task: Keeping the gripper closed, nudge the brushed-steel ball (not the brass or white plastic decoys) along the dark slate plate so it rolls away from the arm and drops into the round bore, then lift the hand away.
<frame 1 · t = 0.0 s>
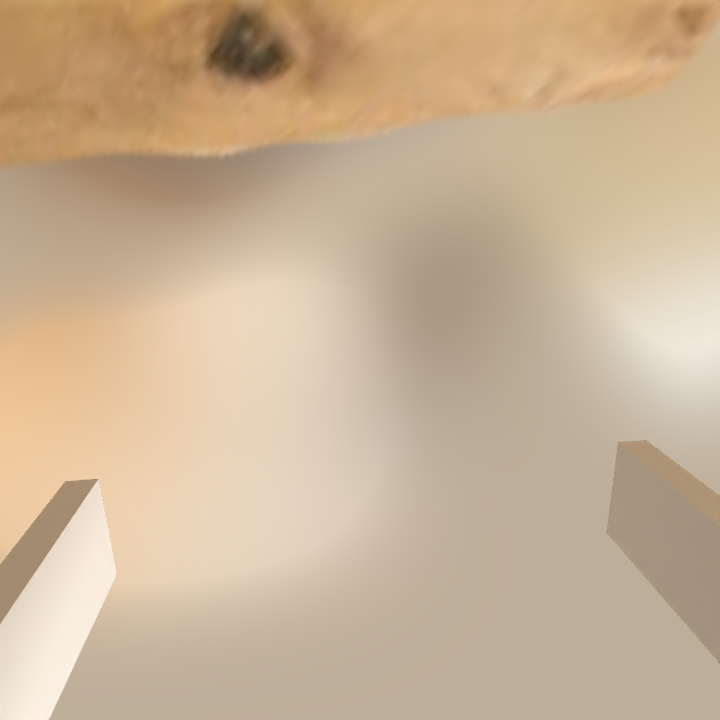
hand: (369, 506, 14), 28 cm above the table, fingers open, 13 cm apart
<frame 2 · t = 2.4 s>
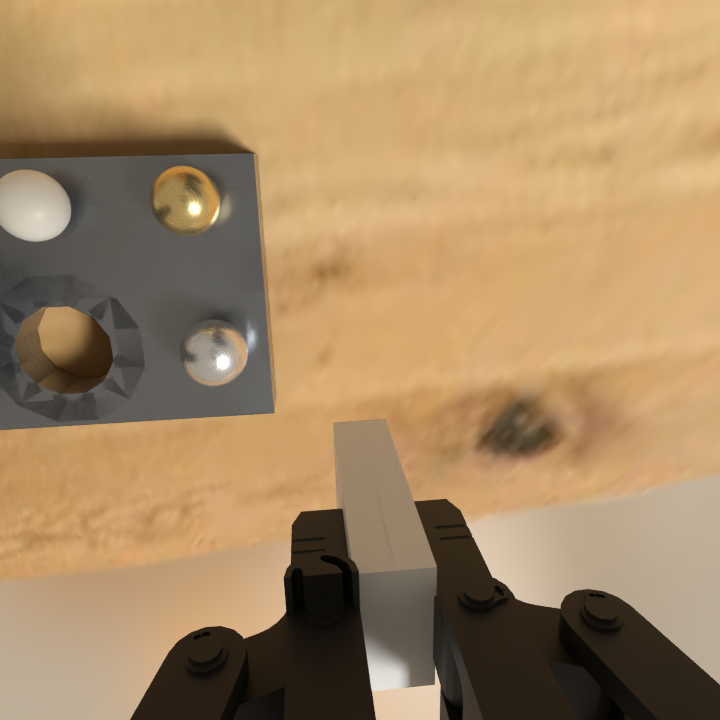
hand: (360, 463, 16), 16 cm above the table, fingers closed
brass ball: (185, 201, 25), point 4 cm above the table, touching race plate
steel ball: (213, 352, 27), point 4 cm above the table, touching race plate
white plastic ball: (32, 206, 24), point 4 cm above the table, touching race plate
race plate: (133, 289, 30), on the table
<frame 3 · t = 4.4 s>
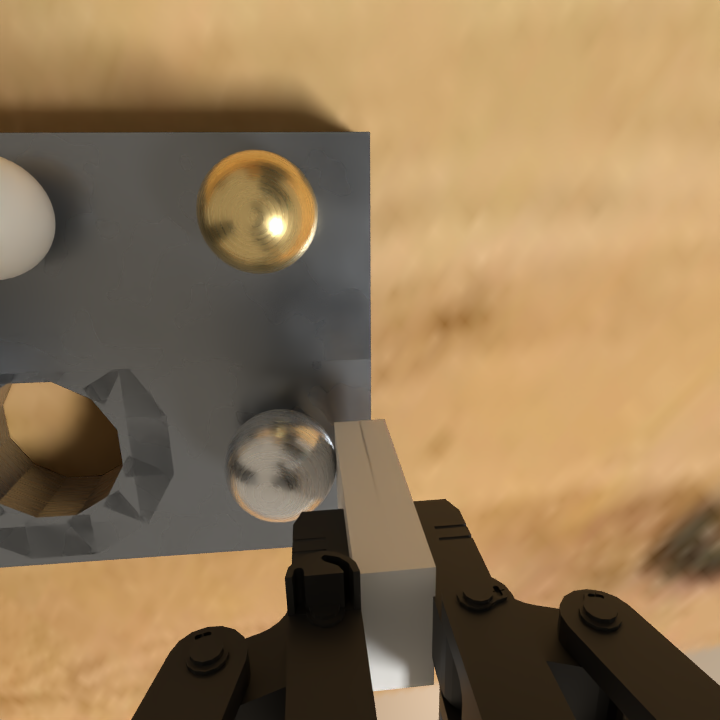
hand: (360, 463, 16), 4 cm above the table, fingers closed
brass ball: (258, 213, 14), point 4 cm above the table, touching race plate
steel ball: (280, 464, 16), point 4 cm above the table, tilted 9°, touching gripper, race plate
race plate: (155, 346, 19), on the table
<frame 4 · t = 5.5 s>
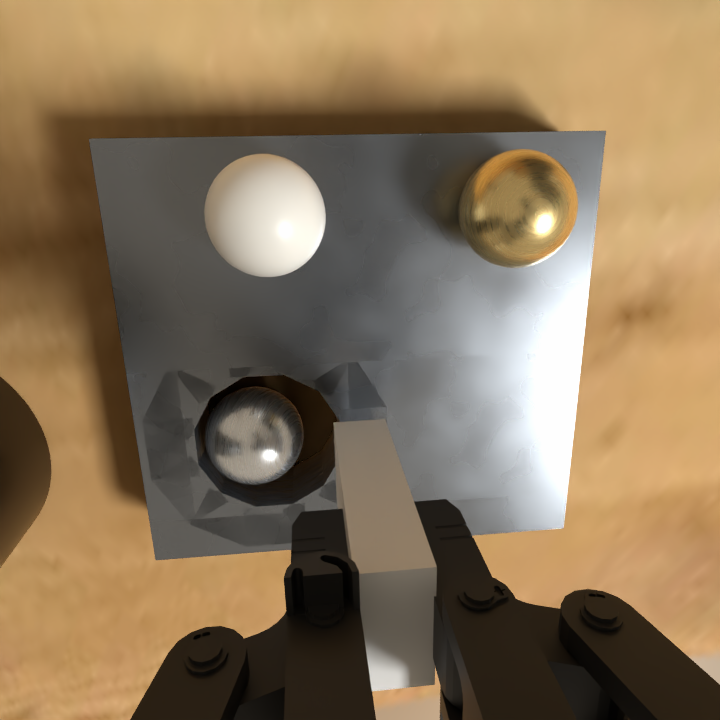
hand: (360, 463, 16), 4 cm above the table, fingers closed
brass ball: (516, 210, 15), point 4 cm above the table, touching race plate
steel ball: (255, 435, 19), point 2 cm above the table, tilted 63°
white plastic ball: (266, 217, 14), point 4 cm above the table, touching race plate
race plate: (355, 340, 20), on the table
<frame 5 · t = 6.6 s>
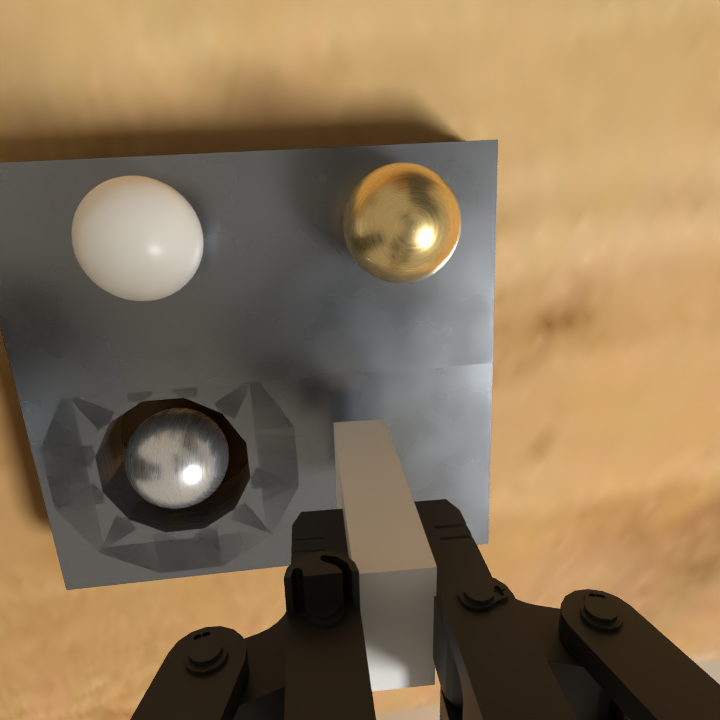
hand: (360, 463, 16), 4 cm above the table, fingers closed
brass ball: (401, 224, 14), point 4 cm above the table, touching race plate
steel ball: (178, 457, 18), point 2 cm above the table, tilted 79°
white plastic ball: (140, 239, 14), point 4 cm above the table, touching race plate
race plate: (268, 358, 19), on the table
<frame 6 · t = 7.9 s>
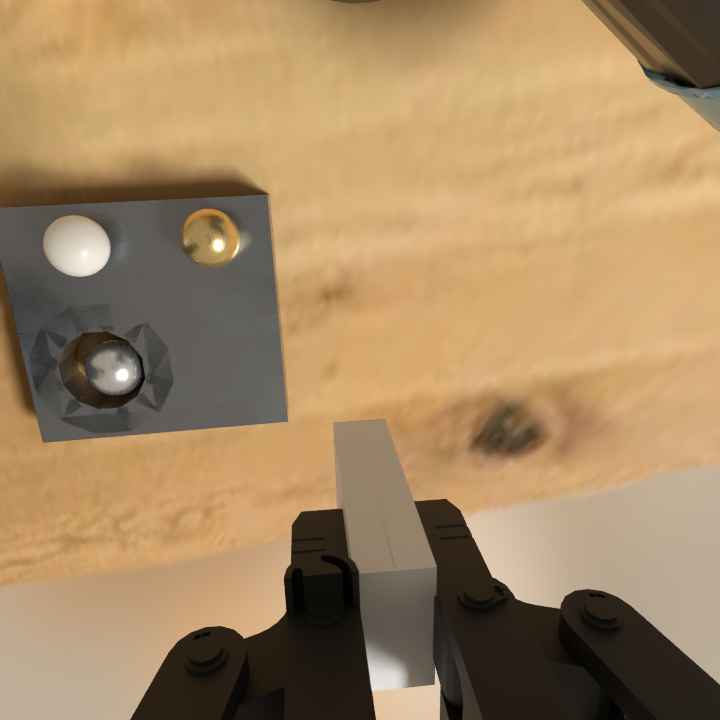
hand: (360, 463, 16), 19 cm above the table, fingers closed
brass ball: (210, 238, 29), point 4 cm above the table, touching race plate
steel ball: (115, 367, 32), point 2 cm above the table, tilted 98°
white plastic ball: (77, 246, 28), point 4 cm above the table, touching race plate
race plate: (160, 314, 33), on the table
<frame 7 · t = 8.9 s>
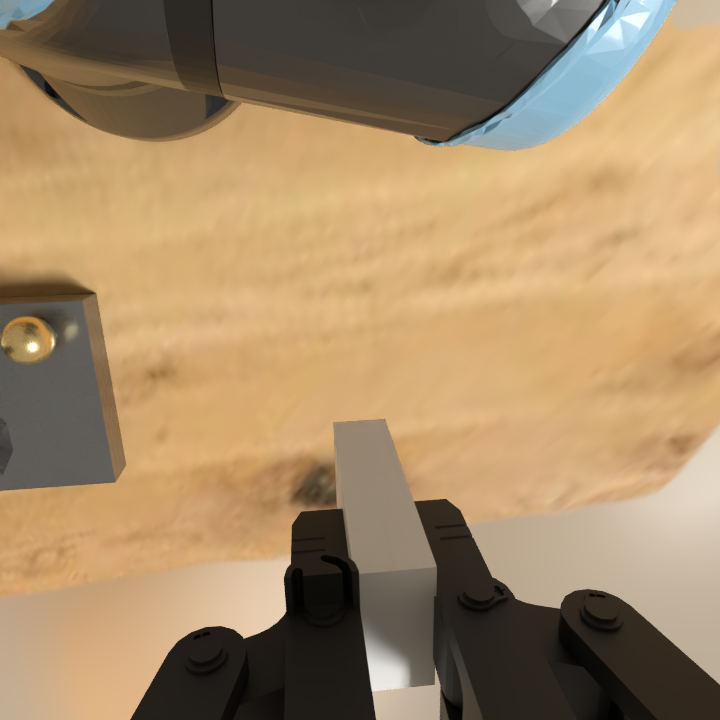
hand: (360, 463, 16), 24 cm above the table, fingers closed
brass ball: (28, 340, 34), point 4 cm above the table, touching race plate
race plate: (8, 389, 39), on the table
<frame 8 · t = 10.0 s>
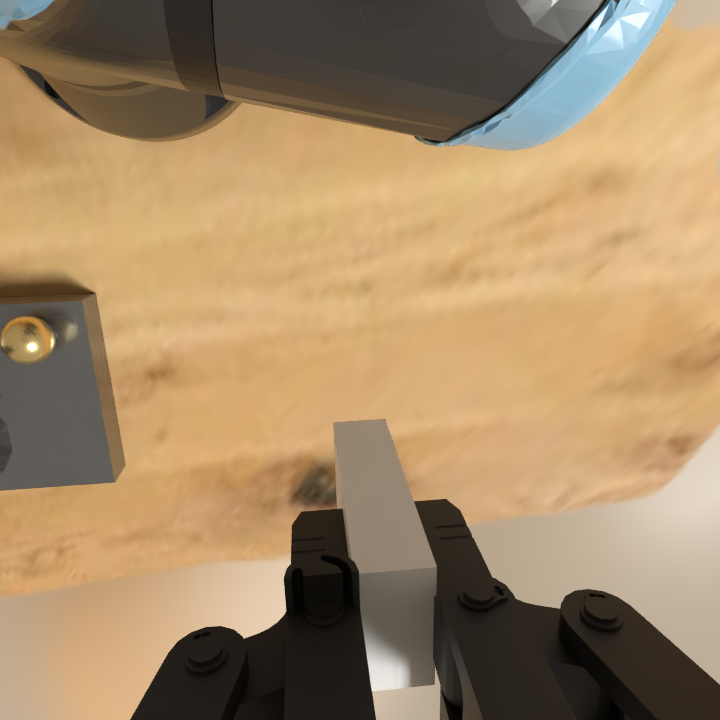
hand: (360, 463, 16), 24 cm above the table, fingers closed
brass ball: (28, 340, 34), point 4 cm above the table, touching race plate
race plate: (8, 389, 39), on the table
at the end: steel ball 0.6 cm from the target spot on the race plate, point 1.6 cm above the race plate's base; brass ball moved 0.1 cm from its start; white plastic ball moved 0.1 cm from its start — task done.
